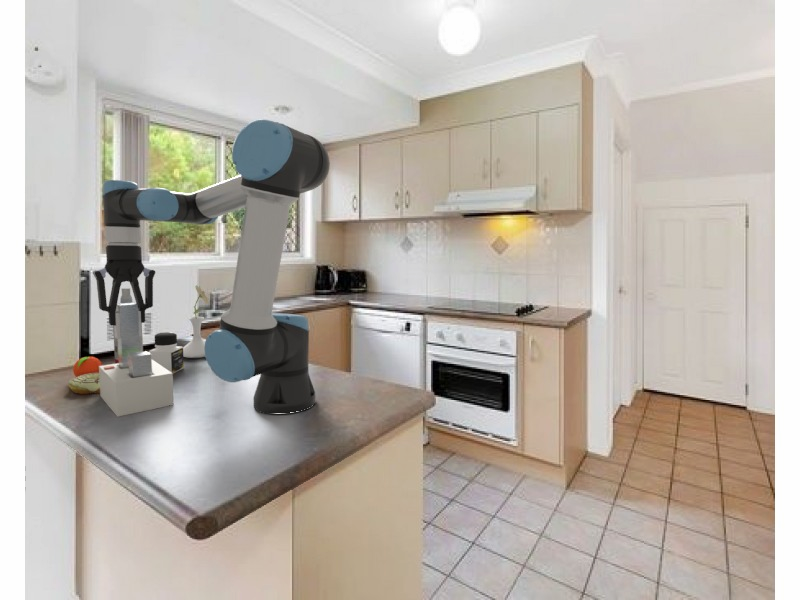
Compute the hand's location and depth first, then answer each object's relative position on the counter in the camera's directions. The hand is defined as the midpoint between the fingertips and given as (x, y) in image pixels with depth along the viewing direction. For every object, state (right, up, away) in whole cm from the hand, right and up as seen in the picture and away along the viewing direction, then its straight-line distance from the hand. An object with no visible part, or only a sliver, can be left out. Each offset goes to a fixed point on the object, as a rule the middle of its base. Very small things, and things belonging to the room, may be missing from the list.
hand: (128, 336), depth 114 cm
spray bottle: (-18, -12, +30) cm, 36 cm away
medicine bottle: (-3, -13, +24) cm, 28 cm away
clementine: (-19, -14, +13) cm, 27 cm away
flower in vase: (-2, -11, +43) cm, 45 cm away
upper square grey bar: (0, -10, +1) cm, 10 cm away
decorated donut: (-13, -15, +6) cm, 21 cm away
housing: (+3, -16, -2) cm, 16 cm away
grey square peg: (+7, -17, -5) cm, 19 cm away
